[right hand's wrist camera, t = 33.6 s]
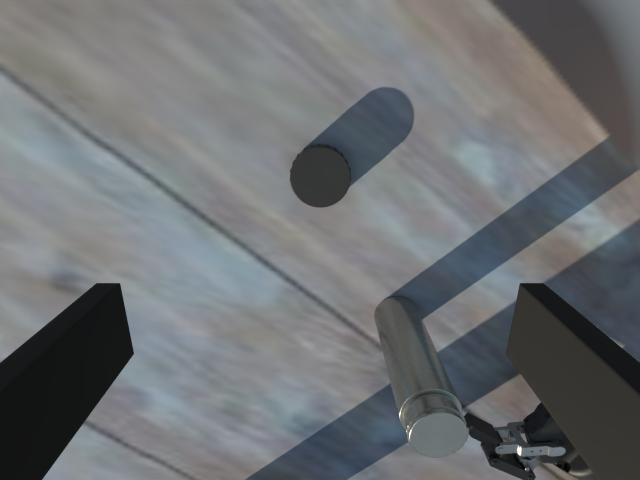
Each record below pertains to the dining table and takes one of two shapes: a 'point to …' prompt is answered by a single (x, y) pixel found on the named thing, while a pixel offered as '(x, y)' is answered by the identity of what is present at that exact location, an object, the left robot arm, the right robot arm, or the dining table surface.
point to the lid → (320, 176)
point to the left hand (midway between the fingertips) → (493, 394)
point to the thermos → (419, 381)
